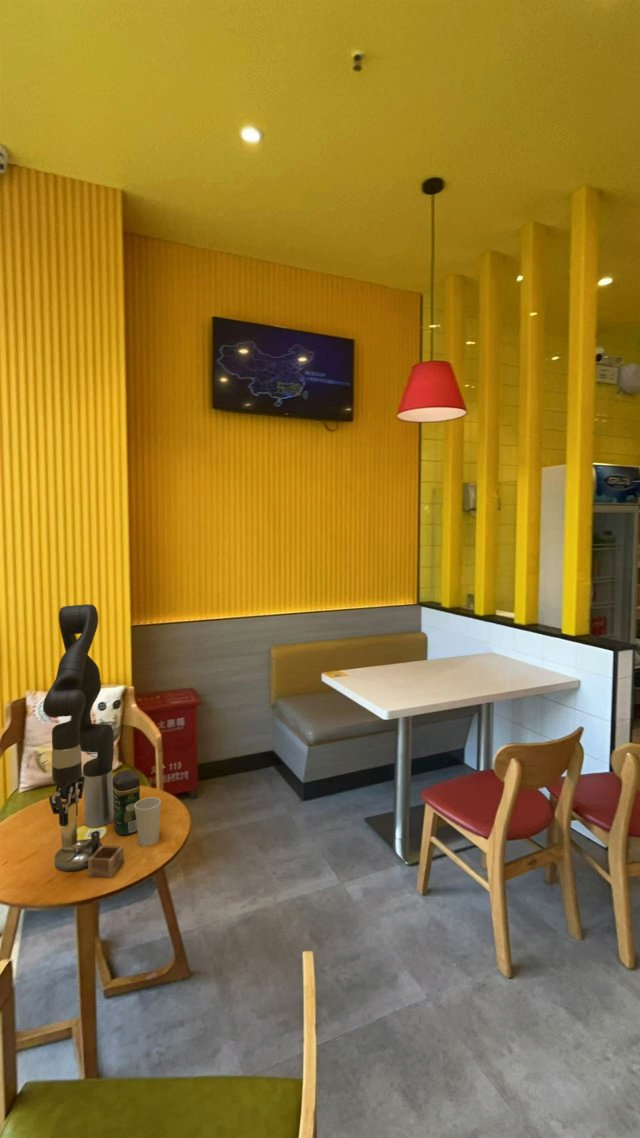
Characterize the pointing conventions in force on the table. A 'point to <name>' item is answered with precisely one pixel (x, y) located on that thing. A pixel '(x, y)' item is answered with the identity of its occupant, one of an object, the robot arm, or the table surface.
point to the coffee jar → (125, 801)
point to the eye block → (106, 861)
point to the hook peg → (70, 827)
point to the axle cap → (79, 845)
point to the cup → (148, 820)
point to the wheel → (77, 854)
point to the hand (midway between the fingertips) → (68, 821)
